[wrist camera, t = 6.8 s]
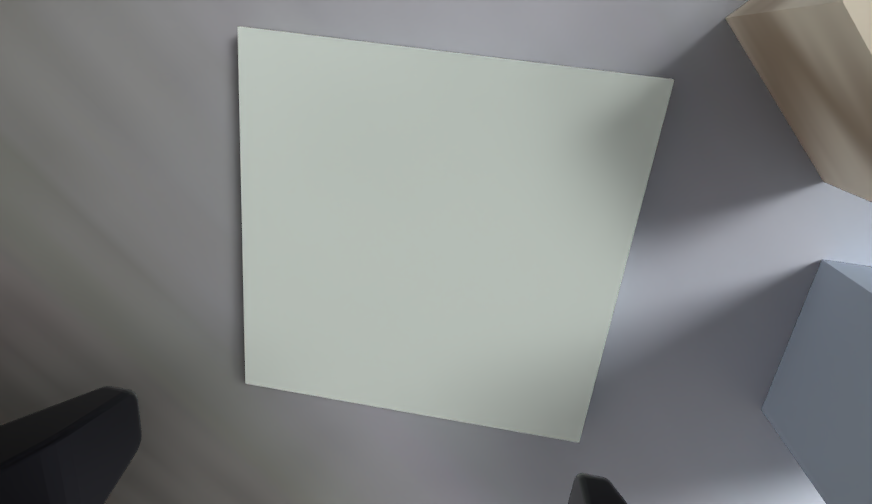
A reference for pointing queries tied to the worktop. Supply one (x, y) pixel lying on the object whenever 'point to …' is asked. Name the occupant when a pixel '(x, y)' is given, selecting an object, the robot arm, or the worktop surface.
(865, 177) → the beige cube
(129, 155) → the worktop surface
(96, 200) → the worktop surface
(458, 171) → the sage tile
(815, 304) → the blue gray block
